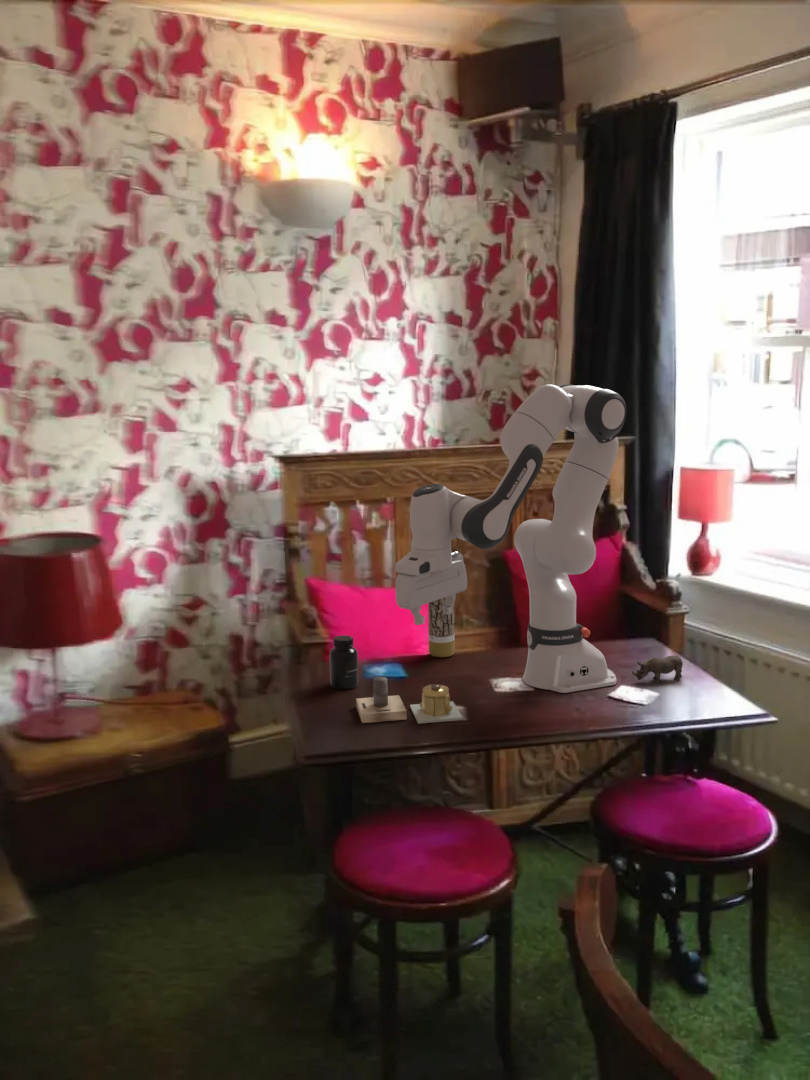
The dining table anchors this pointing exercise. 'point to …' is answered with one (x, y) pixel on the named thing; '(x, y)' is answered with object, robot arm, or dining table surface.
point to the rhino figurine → (660, 667)
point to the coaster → (428, 718)
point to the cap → (436, 700)
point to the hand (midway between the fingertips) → (433, 618)
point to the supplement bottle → (343, 663)
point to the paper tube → (440, 630)
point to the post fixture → (381, 704)
